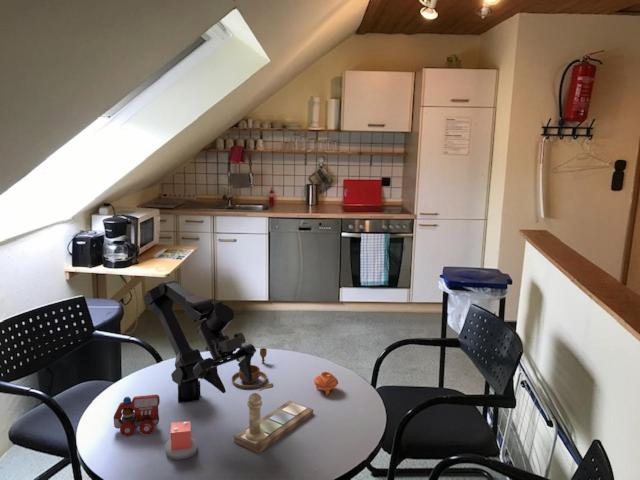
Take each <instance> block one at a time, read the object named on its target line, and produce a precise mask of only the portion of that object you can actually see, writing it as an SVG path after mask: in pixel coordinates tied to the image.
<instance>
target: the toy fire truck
mask: <svg viewBox="0 0 640 480" xmlns="http://www.w3.org/2000/svg"><path fill="white" fill-rule="evenodd" d="M160 402H161V400H160V395H158V394H148V395H139V396H134V397H133V398H132V399H131V397H130V396H125V397H124V398H123V401H122V402H120V403H119V405H118V407H117V408H116V411H115V413H114V415H113V425H114V426H113V427H114V428H115V429H119V431H120V434H121V435H122V436H124V437H131V436H133V434H134V433H135V431H136V427H138V431H139V433H140V434H142V435H144V436H145V435H146V436H149V435H151V434H152V433H153V432H154V430H155V425H157V424H159V423H160V417H159V415H160V414H159V412H160V411H159V406H160Z"/></svg>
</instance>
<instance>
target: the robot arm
mask: <svg viewBox="0 0 640 480" xmlns="http://www.w3.org/2000/svg"><path fill="white" fill-rule="evenodd" d="M143 297H144V298H143V300H144V303H145V305H146V306H147V308H148V309H149V311H150V312H151V313H152V314H154V315H155V316H157V317H158V318H159V321H160V323H161V324H162V326H163V329H164V332H165V334H166V336H167V337H168V338H167V339H168V340H169V343H170V345H171V348H172V349H173V351H174V354H175V361H174V367H175V369H174V371H172V373H171V375H170V376H171V380H172V382H174V383H175V384H177V403H178V404H179V403H180V404H181V403H188V402H190V403H191V402H199V401H200V397H201V380H205V381H206V382H208V383H209V384H211V385H212V386H214V387H215V388H216V389H217V390H218V391H219V392H221V393H223V394H225V393H226V391H227V390H226V387H225V385H224V384H223V382H222V380H221V377H220V376H219V374H218V366H222V365H225V364H227V363H230V362H234V361H237V362H238V364H237V366H238V367H239V369H241V370H242V372H243V374H244V375H245V377H246V378H247V380H248V381H249V382H250V383H249V384H252V383H251V382H252V373H251V365H252V358H253V357H254V355H255V353H257V349H256V346H254V345H253V344H252V343H248V344H246V345H243V344H245V343H246V337H245V335H244V334H243V332H241V331H240V332H238V333H234V335H233V338H230V336H228V335H225V333H224V332H223V331H224V330H225V329H226V328H227V326H228V325H229V324H230V323H231V322H232V321H233V320H234V318H235V313H234V312H235V311H234V310H233V309H232V308H231V307H230V306H229V305H227V304H224V303H223V301H222V300H221V301H217V302H215V303H214V302H213V301H212V300H211V299H210V298H207V297H205V296H198V295H194V294H193V293H191V291H189V290H188V289H186V288H184V287H183V286H182V285H180V284H179V283H178V281H177V280H173V279H172V280H167V281H162V282H161V283H159V284H158V285H157V286H155V287H152V289H150V290H147V291H146V293H145V295H144V296H143ZM174 302H175V303H176V304H177V305H178V306H180V307H182V308H183V309H184V312H185V313H184V314H185V316H186V317H187V318H188V319H189V320H190V321H191V322H193V323H196V322H199V321H202V322H200V323H198V324H197V327H196V333H197V334H200V335H201V337H202V339H203V341H204V343H205V345H206V347H205V348H204V349H205V351H206V352H209V354H210V356H211V357H208V358H203V357H202V354H201V352H200V350H199V349H198V348H197V349H193V348H192V347H191V346H190V344H189V340H188V339H187V337H186V335H185V332H184V331H183V328H182V326H181V324H180V322H179V320H178V317H177V315H176V314H175V311H174V304H175V303H174ZM237 349H238V350H237ZM199 379H200V380H199Z"/></svg>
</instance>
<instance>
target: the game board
mask: <svg viewBox="0 0 640 480" xmlns="http://www.w3.org/2000/svg"><path fill="white" fill-rule="evenodd" d="M313 414H314V409H313V408H310V407H307V406H305V405H303V404H300V403H297V402H295V401H292V400H288V401H287V402H285V403H283V404H282V405H280V406H279V407H277V408H276V409H274V410H273V411H271V412H270V413H268V414H266V415H265V416H263V417H261V418H260V428H262V429H263V430H264V437H263V438H262V439H261V440H258V441H250V440H248V439H247V438H246V430H247V429H249V426H248V427H247V428H245V429H244V430H242V431H241V432H239V433H237V434H236V435H234V436H233V442H234V443H236V444H238V445H241V446H243V447H244V448H247V449H249V450H251V451H253V452H256V453H258V454H260V453H262V452H263V451H264V450H266V449H267V448H268V447H270V446H271V445H272V444H274V443H276V442H277V441H278V440H279V439H281V438H282V437H284V436H285V435H286V434H287V433H289V432H290V431H292V430H293V429H294V428H296V427H297V426H299V425H300V424H301V423H303V422H304V421H306V420H308V418H310V417H311V416H312V415H313Z"/></svg>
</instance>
